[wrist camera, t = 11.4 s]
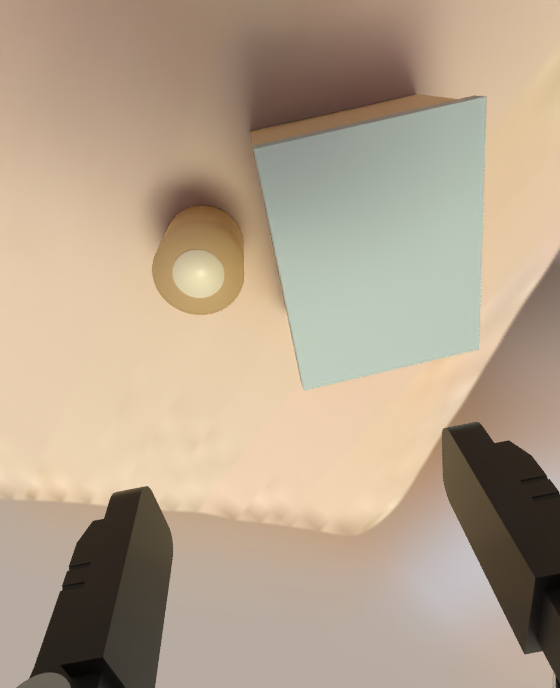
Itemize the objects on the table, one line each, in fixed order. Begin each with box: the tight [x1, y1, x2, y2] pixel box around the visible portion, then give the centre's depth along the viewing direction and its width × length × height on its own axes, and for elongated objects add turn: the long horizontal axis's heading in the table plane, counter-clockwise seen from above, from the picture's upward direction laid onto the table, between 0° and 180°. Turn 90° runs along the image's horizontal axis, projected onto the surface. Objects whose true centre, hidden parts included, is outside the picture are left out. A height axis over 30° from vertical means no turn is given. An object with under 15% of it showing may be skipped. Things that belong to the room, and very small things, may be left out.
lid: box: [252, 96, 486, 390], centre depth 21 cm, size 11×9×1 cm
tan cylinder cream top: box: [152, 205, 244, 315], centre depth 26 cm, size 5×5×5 cm
